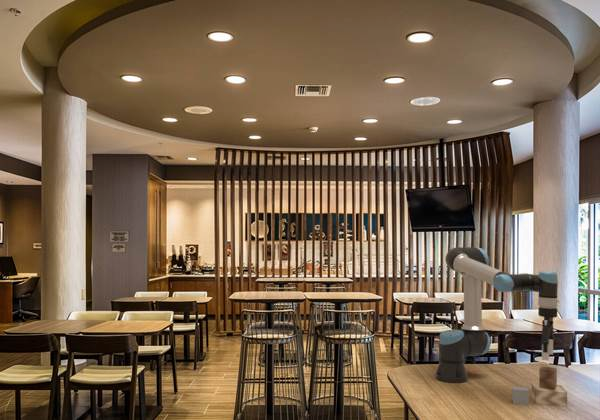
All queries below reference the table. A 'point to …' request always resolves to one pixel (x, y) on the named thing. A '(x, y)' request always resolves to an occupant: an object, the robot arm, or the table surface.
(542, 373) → the walnut block
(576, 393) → the table surface
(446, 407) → the table surface
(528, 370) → the table surface
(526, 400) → the slate cube
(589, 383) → the table surface
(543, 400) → the birch block
